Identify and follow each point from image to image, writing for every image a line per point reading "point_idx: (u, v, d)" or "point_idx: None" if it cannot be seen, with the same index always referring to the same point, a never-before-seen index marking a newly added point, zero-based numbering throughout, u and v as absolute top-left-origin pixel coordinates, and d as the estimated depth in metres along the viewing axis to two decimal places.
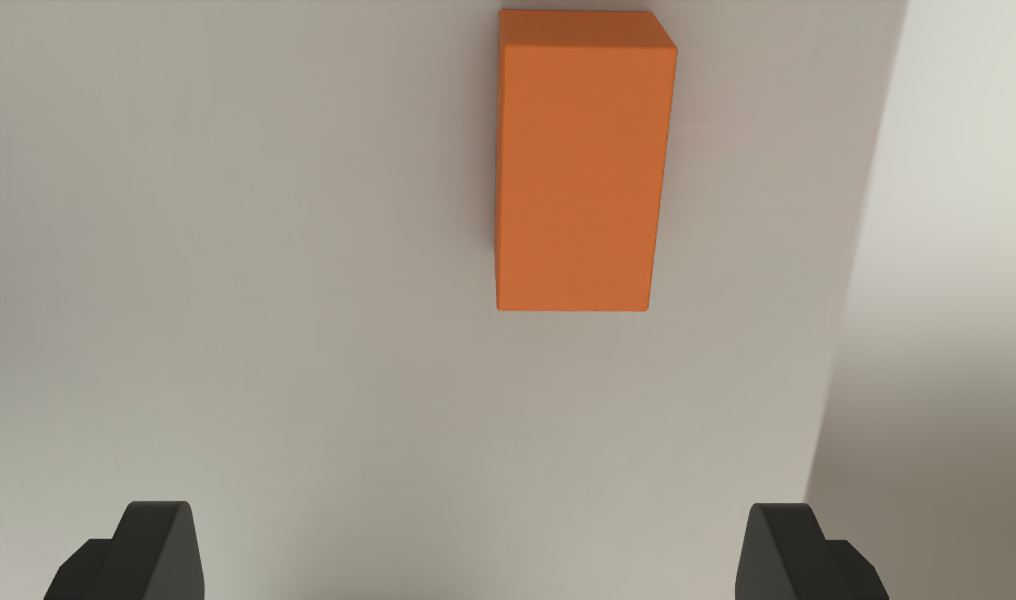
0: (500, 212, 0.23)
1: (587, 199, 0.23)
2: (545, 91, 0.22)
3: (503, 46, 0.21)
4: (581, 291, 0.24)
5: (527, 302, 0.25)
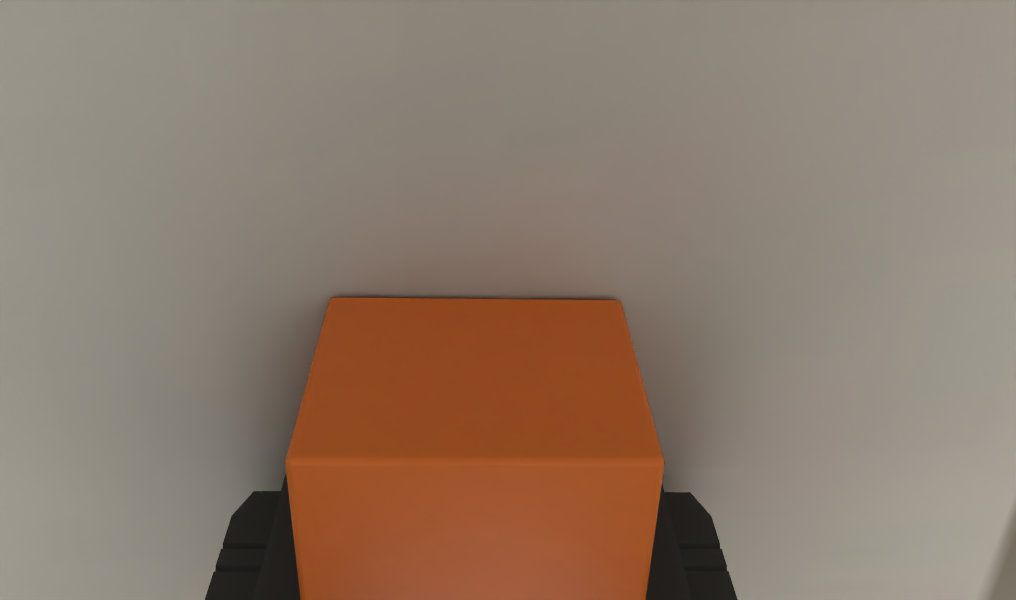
0: None
1: None
2: (383, 538, 0.10)
3: (286, 460, 0.10)
4: None
5: None
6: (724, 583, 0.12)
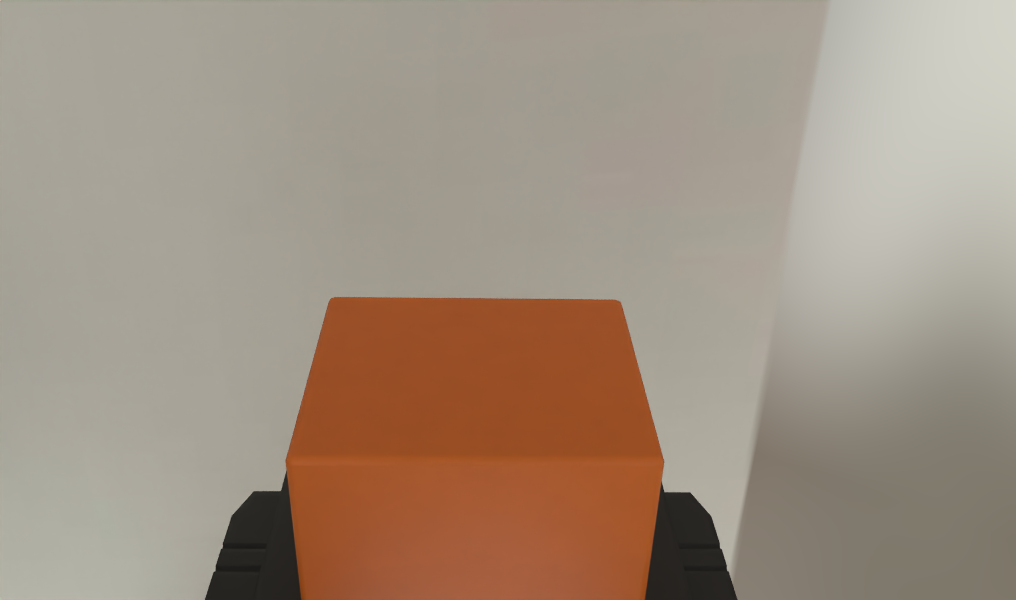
0: None
1: None
2: (384, 537, 0.10)
3: (287, 460, 0.10)
4: None
5: None
6: (724, 583, 0.12)
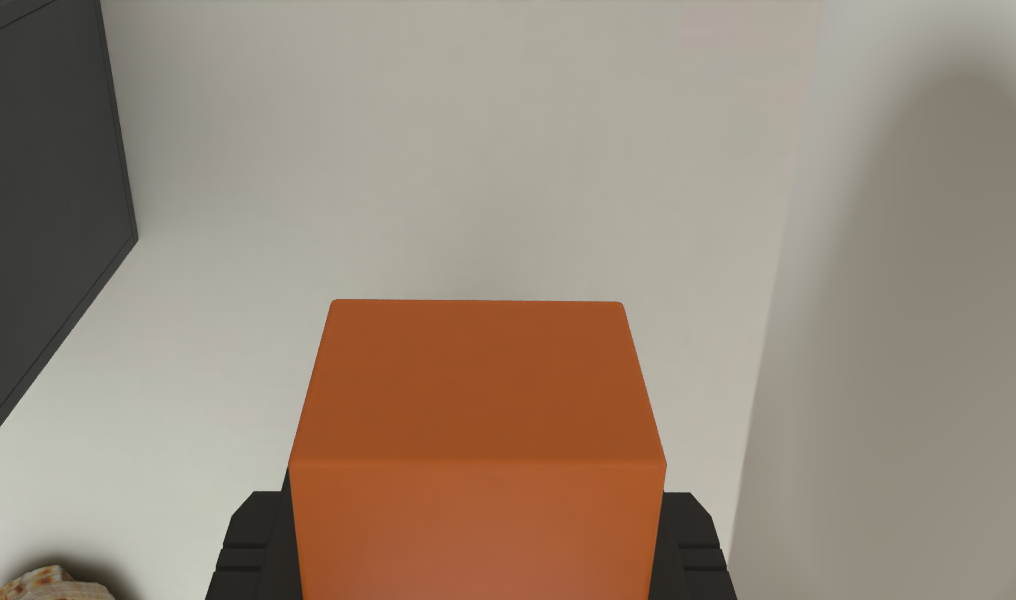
0: None
1: None
2: (387, 540, 0.10)
3: (289, 462, 0.10)
4: None
5: None
6: (724, 583, 0.12)
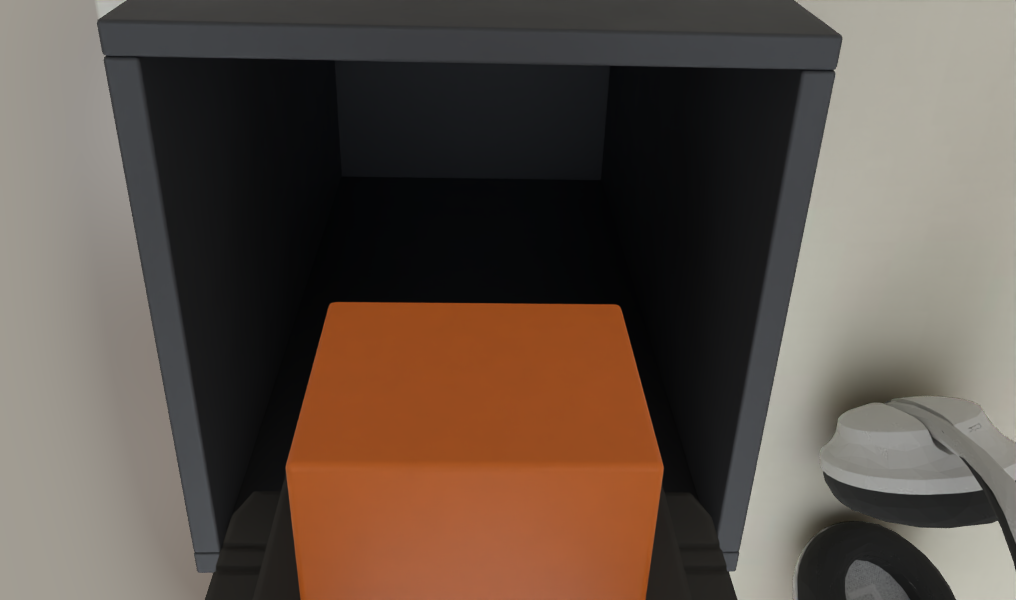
0: None
1: None
2: (384, 543, 0.10)
3: (287, 466, 0.10)
4: None
5: None
6: (724, 583, 0.12)
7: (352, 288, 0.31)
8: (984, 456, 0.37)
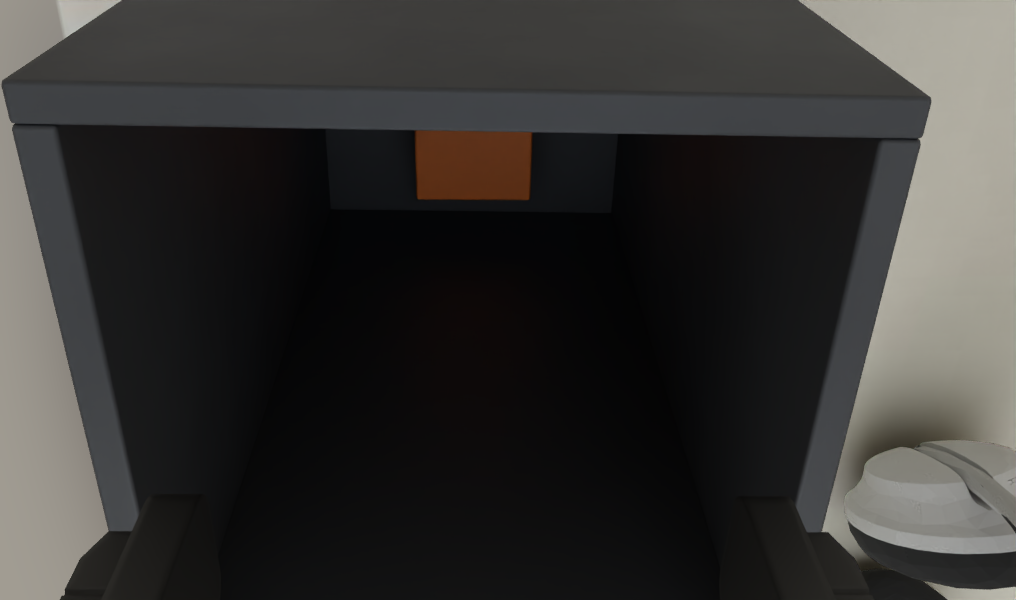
0: None
1: None
2: None
3: None
4: (478, 184, 0.33)
5: (438, 192, 0.33)
6: None
7: (339, 343, 0.28)
8: None
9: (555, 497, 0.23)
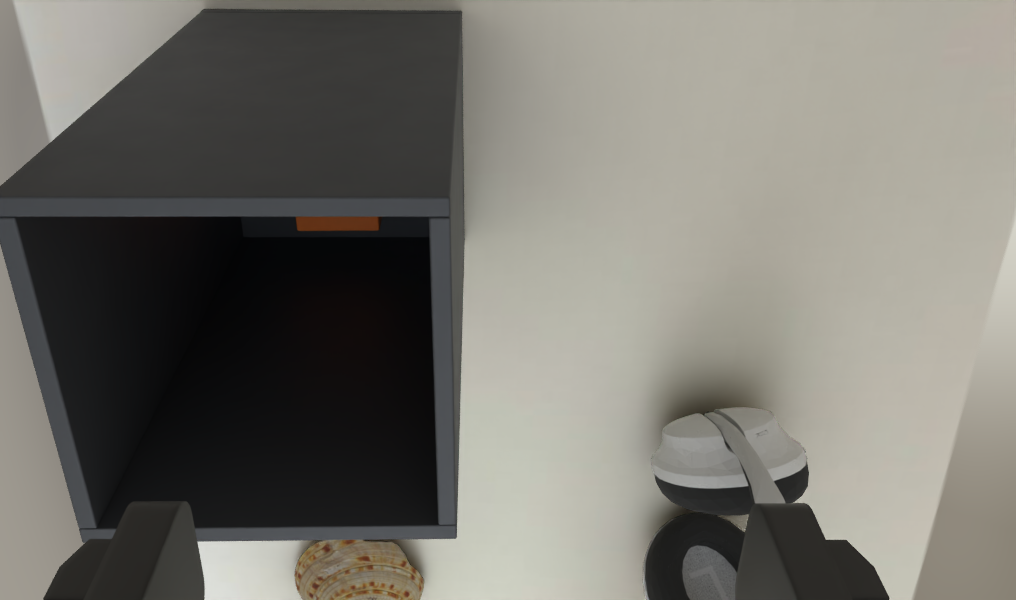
0: None
1: None
2: None
3: None
4: (341, 219, 0.46)
5: (312, 226, 0.46)
6: None
7: (230, 333, 0.41)
8: (752, 457, 0.47)
9: (350, 428, 0.35)
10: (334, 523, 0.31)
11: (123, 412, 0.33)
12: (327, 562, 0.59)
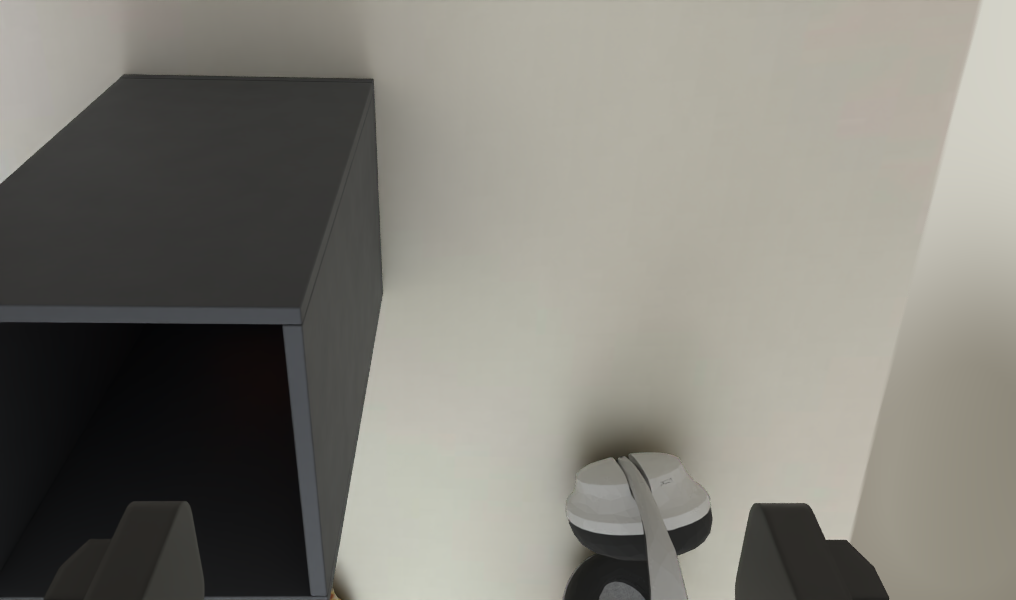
0: None
1: None
2: None
3: None
4: None
5: None
6: None
7: (140, 392, 0.43)
8: (650, 508, 0.49)
9: (242, 494, 0.37)
10: (212, 593, 0.33)
11: (19, 482, 0.35)
12: None
